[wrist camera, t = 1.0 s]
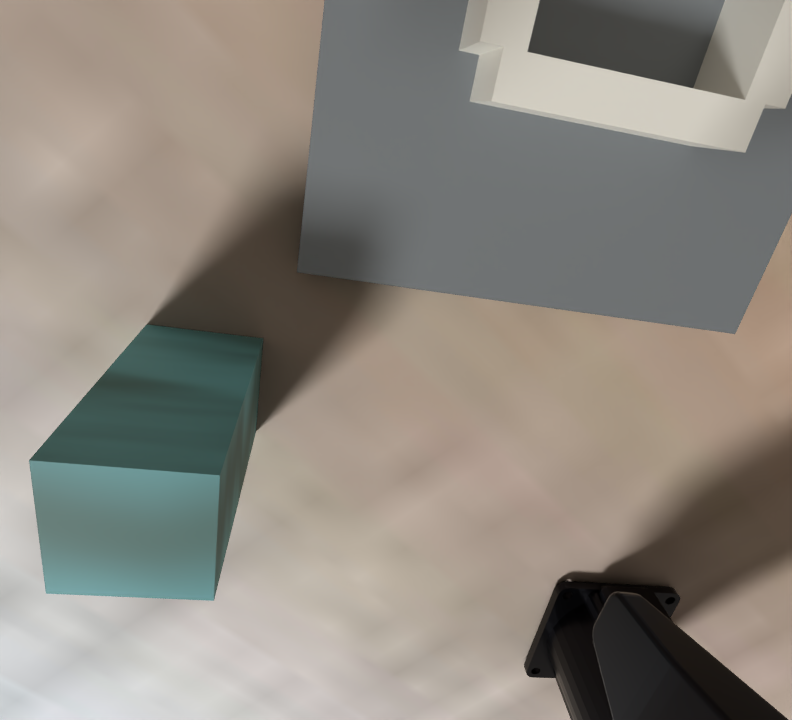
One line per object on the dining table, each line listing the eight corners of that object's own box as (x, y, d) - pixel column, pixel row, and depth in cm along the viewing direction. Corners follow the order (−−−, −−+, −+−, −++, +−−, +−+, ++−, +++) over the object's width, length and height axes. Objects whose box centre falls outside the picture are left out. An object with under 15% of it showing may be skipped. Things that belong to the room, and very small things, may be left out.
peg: (255, 431, 21) (214, 600, 14) (148, 421, 20) (45, 593, 13) (263, 338, 20) (219, 475, 12) (146, 324, 19) (29, 460, 12)
